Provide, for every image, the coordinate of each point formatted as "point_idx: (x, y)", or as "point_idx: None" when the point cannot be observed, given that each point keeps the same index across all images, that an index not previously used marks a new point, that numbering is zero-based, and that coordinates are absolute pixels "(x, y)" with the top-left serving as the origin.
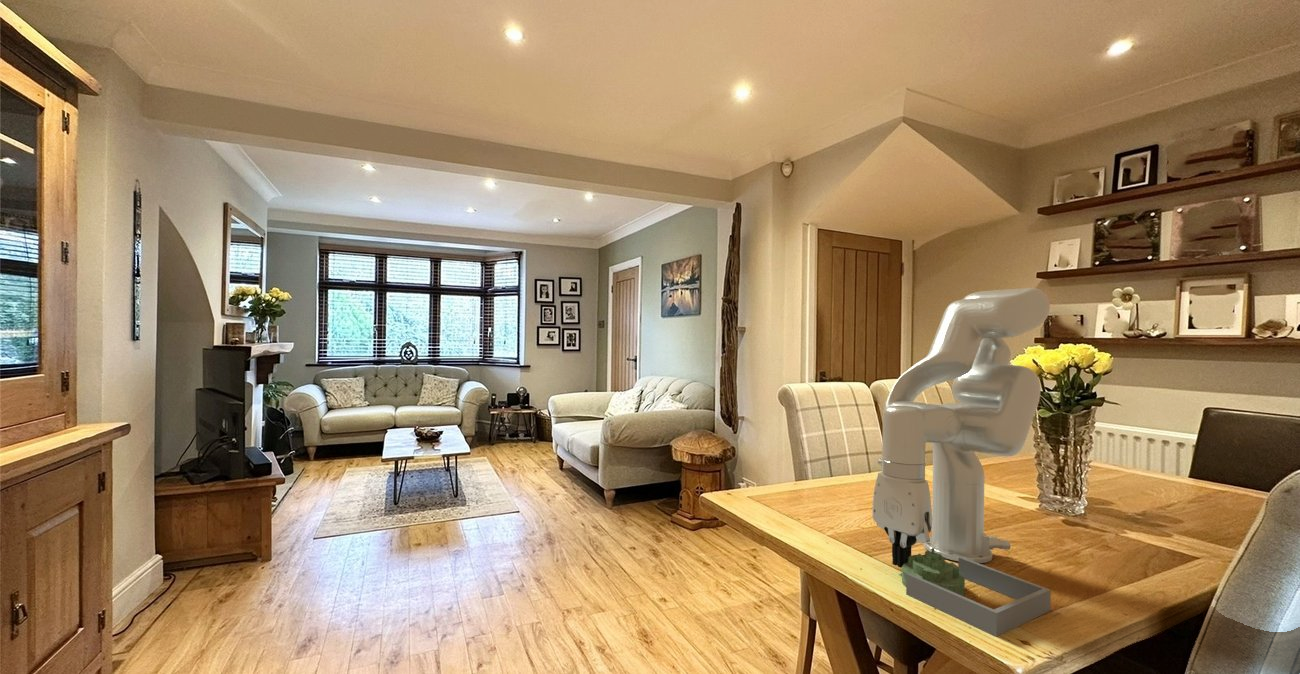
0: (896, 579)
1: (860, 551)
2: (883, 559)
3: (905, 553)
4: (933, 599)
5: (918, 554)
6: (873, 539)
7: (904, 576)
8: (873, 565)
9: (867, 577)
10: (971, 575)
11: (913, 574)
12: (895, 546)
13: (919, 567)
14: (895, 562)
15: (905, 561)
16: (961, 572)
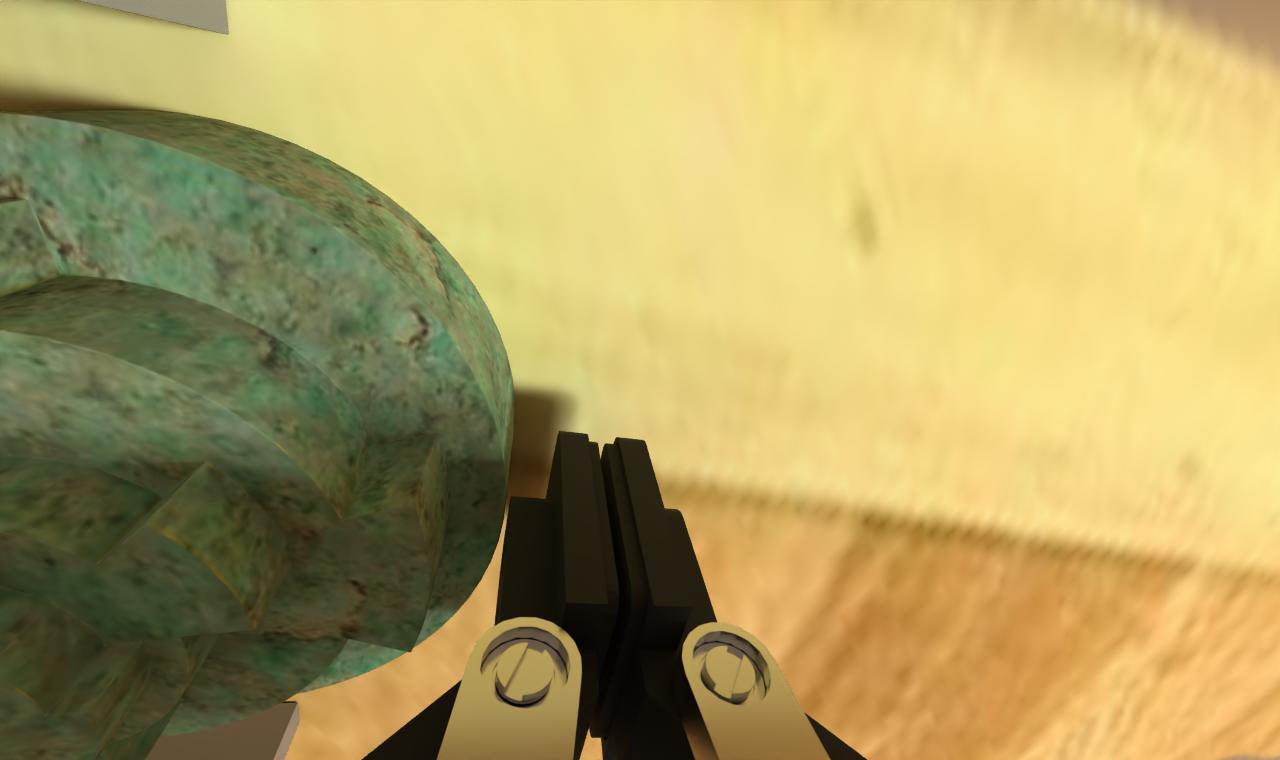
0: (528, 281)
1: (951, 526)
2: (778, 540)
3: (509, 573)
4: None
5: (231, 604)
6: (922, 716)
7: (365, 221)
8: (799, 387)
9: (746, 61)
10: (161, 750)
11: (220, 252)
12: (647, 594)
13: (59, 327)
14: (615, 454)
15: (515, 503)
16: (254, 740)
